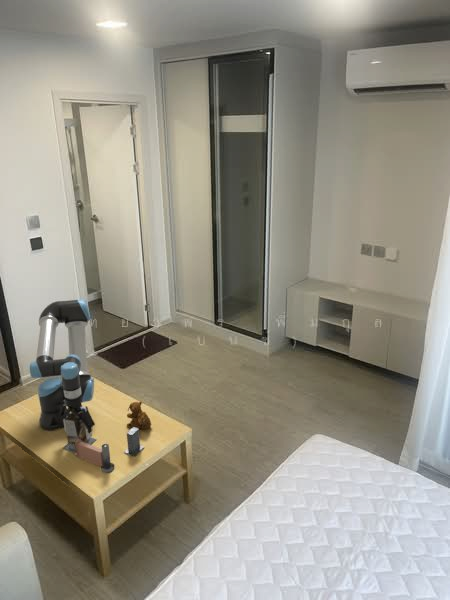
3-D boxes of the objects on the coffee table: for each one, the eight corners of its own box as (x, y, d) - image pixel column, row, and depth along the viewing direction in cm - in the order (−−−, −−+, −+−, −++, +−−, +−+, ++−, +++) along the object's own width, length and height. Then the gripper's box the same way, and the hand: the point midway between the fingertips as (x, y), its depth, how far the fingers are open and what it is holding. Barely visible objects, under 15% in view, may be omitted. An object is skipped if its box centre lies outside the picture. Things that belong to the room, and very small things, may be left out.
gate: (105, 463, 201) (103, 447, 198) (102, 466, 199) (100, 450, 196) (79, 453, 207) (77, 438, 204) (76, 456, 205) (74, 440, 202)
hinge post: (97, 470, 198) (95, 448, 194) (106, 462, 203) (104, 440, 199) (108, 474, 195) (105, 452, 191) (117, 466, 201) (115, 444, 196)
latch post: (124, 453, 209) (122, 433, 205) (133, 444, 215) (132, 425, 211) (134, 456, 206) (133, 437, 202) (144, 447, 212) (142, 428, 208)
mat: (62, 448, 212) (62, 447, 212) (80, 434, 222) (80, 433, 222) (78, 454, 208) (78, 454, 207) (96, 439, 218) (96, 439, 218)
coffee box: (80, 450, 210) (76, 421, 204) (68, 448, 211) (63, 419, 206) (90, 438, 218) (86, 410, 212) (78, 436, 219) (74, 408, 214)
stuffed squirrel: (138, 416, 236) (137, 394, 231) (157, 426, 228) (156, 404, 223) (123, 425, 229) (121, 403, 224) (142, 436, 220) (140, 413, 216)
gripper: (46, 392, 207) (52, 430, 215) (88, 406, 197) (93, 445, 205) (59, 384, 214) (64, 421, 221) (99, 397, 203) (104, 436, 211)
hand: (78, 433), depth 213 cm, fingers open, 13 cm apart
